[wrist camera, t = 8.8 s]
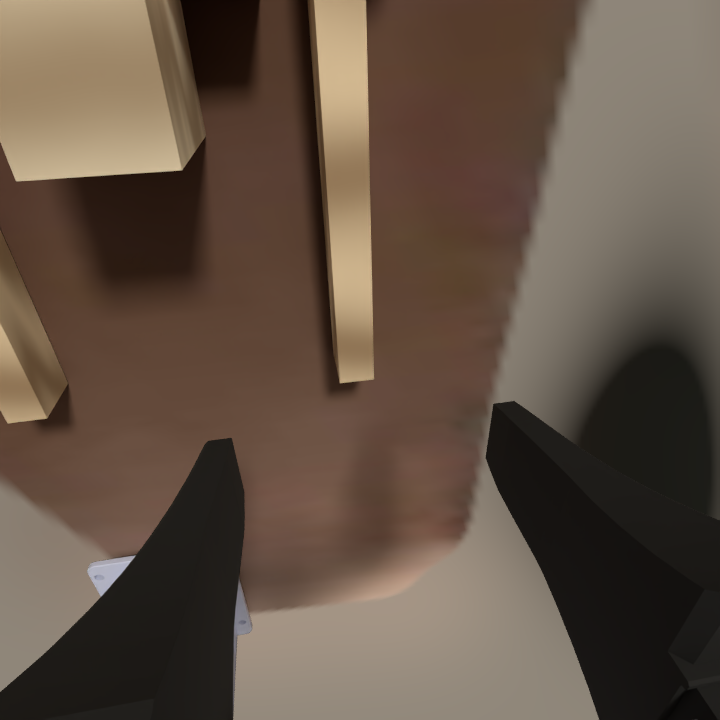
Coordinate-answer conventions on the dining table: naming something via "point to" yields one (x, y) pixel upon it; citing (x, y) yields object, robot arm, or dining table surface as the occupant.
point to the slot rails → (340, 212)
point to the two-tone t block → (96, 88)
